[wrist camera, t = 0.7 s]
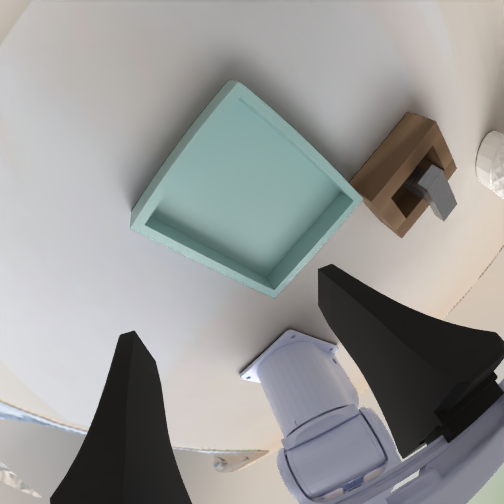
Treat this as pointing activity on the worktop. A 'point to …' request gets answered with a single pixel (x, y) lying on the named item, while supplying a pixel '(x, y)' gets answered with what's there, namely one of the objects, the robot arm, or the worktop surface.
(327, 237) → the tray
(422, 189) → the t post
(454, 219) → the worktop surface
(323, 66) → the worktop surface
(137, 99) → the worktop surface
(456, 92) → the worktop surface
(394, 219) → the frame ring
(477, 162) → the white cup
